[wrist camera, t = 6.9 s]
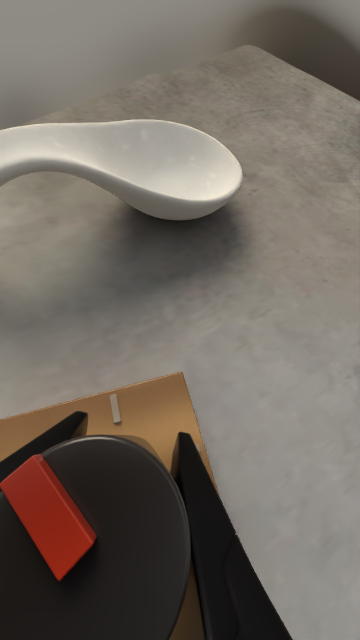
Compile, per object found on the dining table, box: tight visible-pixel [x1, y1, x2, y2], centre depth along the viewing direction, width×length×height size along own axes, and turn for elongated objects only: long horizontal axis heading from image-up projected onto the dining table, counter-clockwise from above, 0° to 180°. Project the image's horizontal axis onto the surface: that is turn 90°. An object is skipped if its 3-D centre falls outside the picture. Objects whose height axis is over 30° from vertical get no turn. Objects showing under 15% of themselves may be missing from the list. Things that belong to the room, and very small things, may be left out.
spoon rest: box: [0, 120, 243, 220], centre depth 19 cm, size 24×12×7 cm, turn 125°
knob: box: [0, 434, 191, 640], centre depth 7 cm, size 3×3×9 cm
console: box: [0, 372, 219, 495], centre depth 12 cm, size 12×10×3 cm
